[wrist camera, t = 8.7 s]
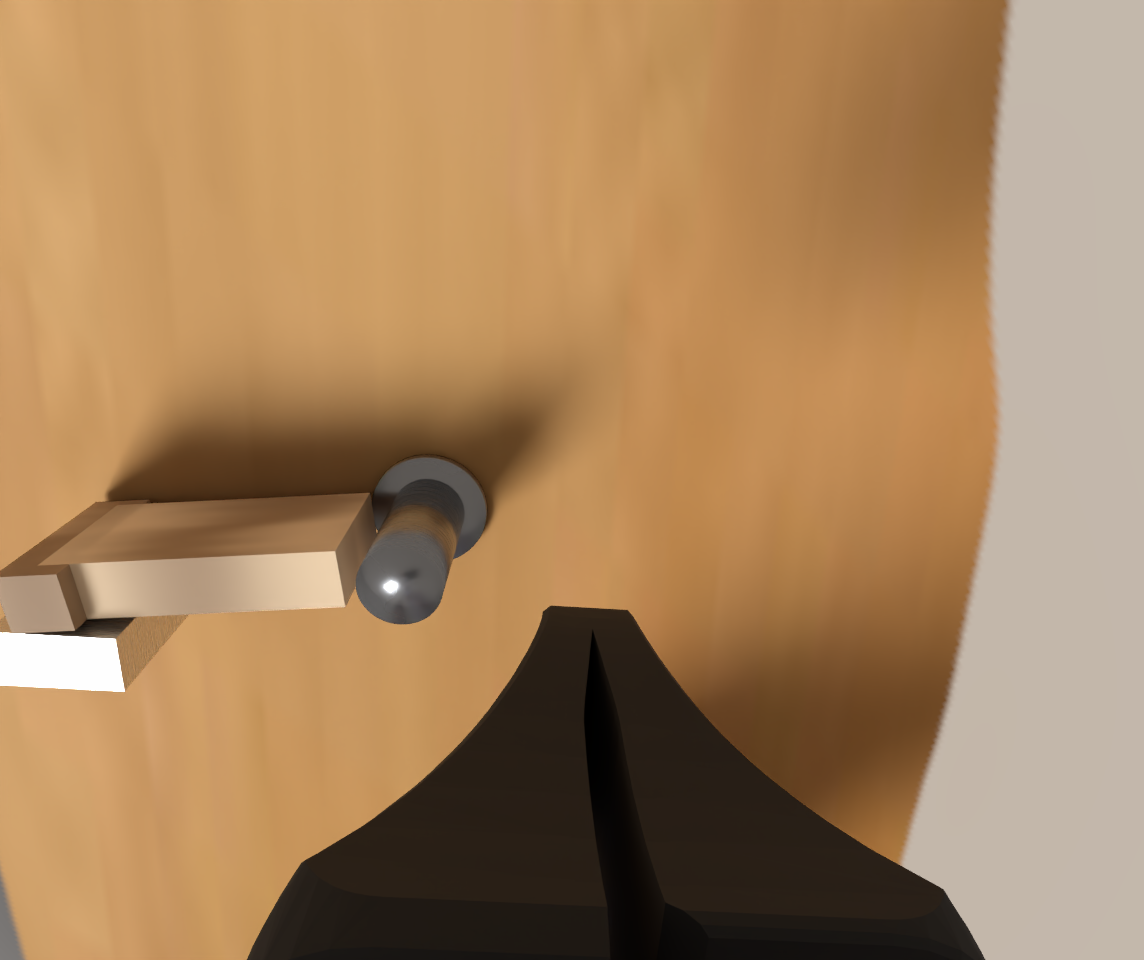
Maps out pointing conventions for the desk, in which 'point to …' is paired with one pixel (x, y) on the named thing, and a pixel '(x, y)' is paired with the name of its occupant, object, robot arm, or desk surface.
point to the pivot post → (418, 536)
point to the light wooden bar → (190, 560)
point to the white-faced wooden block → (84, 653)
